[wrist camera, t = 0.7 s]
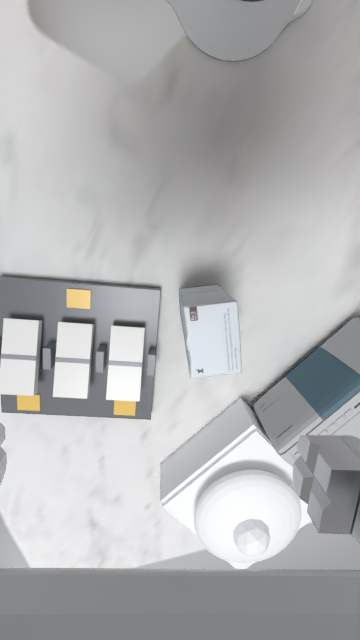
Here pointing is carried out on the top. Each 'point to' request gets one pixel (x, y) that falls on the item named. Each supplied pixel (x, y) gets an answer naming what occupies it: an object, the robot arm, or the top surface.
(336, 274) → the top surface
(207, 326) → the skincare box
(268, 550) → the white domed box
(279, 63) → the top surface
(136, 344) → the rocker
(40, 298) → the switch unit
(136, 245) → the top surface
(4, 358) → the block
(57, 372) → the rocker
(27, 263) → the top surface
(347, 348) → the stereo radio cassette player
